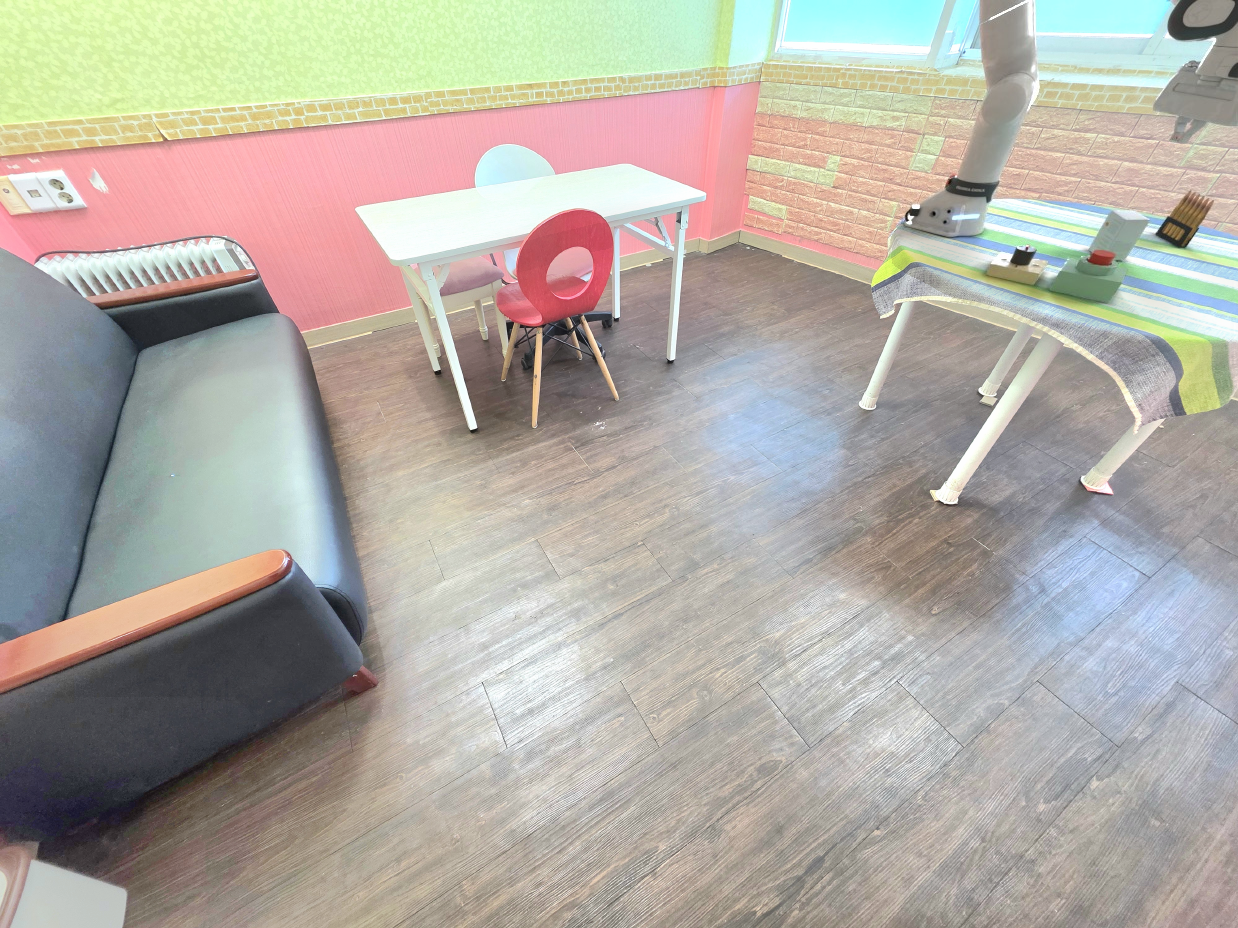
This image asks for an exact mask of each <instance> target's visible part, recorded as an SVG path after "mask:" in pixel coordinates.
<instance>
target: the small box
mask: <svg viewBox="0 0 1238 928" xmlns="http://www.w3.org/2000/svg"><path fill="white" fill-rule="evenodd" d="M1150 222H1151V219H1150V218H1148V217H1146V216H1144V215H1143V214H1141V213H1140V212H1138V211H1136V210H1125V209H1124V210H1119V209H1118V210H1115V209H1114V210H1113V209H1112V210H1110V211H1109V213H1108V215H1107V216H1106V218H1105V219H1104V221H1103V223H1102V225H1101V227H1100V229H1099V230H1098V231H1097V233H1096V235H1095V237H1094V239H1093V241H1092V242H1091V244H1090V246H1089V247H1088V251H1089V252H1091V253H1092V252H1093V251H1094V250H1106V251H1110V252H1113V253H1115V254H1116V256H1115V258H1114V259H1113V260H1115V261H1125V260H1126V259H1127V258H1128V256H1129V255H1130V253H1131V252H1132V250H1133V248H1134V247H1135V246H1136V244H1137V242H1138V241H1139V239H1140V237H1141V236H1142V234H1143V233H1144V231H1145V230H1146V228H1147V226H1148V225H1149V223H1150Z"/></svg>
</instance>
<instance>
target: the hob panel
mask: <svg viewBox="0 0 1238 928" xmlns="http://www.w3.org/2000/svg"><path fill="white" fill-rule="evenodd" d="M1013 254H1014V253H1009V252H1003V251H1001V252H1000V253H999V254H998V255H997V256H996V257H995V258H994V259H993V261H992V262H991V263H990V264H989V267H988V269H987V271H986V273H985V276H990V277H994V278H999V279H1002V280H1008V281H1012V282H1017V283H1021V284H1026V285H1031V286H1034V285H1035V284H1036V283H1037V281H1038V280H1039V278H1040V277H1041V276H1042V274H1043V273H1044V271H1045V269H1046V267H1047V265H1048V263H1049V260H1046V259H1040V258H1039V259H1038V258H1034V257H1033V259H1032V261H1031V262H1030V264H1029V265H1016V264H1013V263H1011V262H1010V260H1011V258H1012V256H1013Z"/></svg>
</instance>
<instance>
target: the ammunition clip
mask: <svg viewBox="0 0 1238 928" xmlns="http://www.w3.org/2000/svg"><path fill="white" fill-rule="evenodd" d="M1196 194H1197V192H1196V191H1194V192H1193V193H1192V190H1191V189H1190V190H1189V191H1188V192H1186V194H1184V196H1183V197H1182V198H1181V200H1180V201H1179V202H1178V204H1177V205H1176V206H1175V207H1174V209H1173V210H1172V211H1171V213H1170V214H1169V215H1167V217H1166V218H1165V219H1164V221H1162V224H1161V225H1160V226H1159V228H1158V229H1157V231H1156V232H1155V236H1158V237H1159V238H1161V239H1163V240H1165V241H1166V242H1168V243H1170V244H1171V245H1173V246H1175V247H1177V248H1187V247H1188V246H1189V244H1190V242H1191V241H1192V240H1193V238H1195V235H1197V232H1198V231H1199V229H1200V226H1201V224H1202V223H1203V221H1204V220H1205V219H1206V217H1207V215H1208V213H1209V212H1210V210H1211V209H1212V207H1213V205H1214V203H1215V199H1212V200H1211V201H1210V197H1206V196H1205V195H1203V196H1202V197H1201V193H1198V194H1197V195H1196ZM1205 197H1206V199H1205Z"/></svg>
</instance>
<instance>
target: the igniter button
mask: <svg viewBox="0 0 1238 928" xmlns="http://www.w3.org/2000/svg"><path fill="white" fill-rule="evenodd" d="M1089 256H1090V257H1089V259H1088V260H1087V261H1088V262H1090V263H1092V264H1096V265H1101V266H1108V265H1110V264H1111V262H1112V261H1113V259H1114V258H1115V256H1116V254H1115V253H1113V252H1110V251H1106V250H1094V251H1093V252H1091V253H1090V255H1089Z"/></svg>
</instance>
